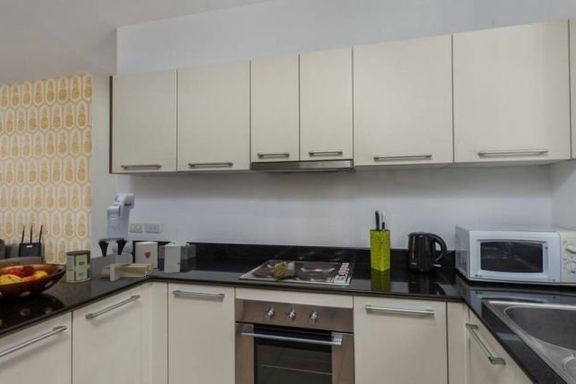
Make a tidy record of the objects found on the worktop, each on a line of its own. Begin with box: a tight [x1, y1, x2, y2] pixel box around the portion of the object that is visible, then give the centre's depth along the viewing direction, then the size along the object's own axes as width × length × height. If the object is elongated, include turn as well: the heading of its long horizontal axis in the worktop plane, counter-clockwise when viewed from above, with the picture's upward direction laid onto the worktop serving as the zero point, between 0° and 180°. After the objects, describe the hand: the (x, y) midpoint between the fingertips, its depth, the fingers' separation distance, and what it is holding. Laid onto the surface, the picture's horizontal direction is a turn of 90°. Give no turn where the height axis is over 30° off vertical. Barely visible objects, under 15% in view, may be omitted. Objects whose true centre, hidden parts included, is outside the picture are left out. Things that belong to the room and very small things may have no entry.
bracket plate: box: [109, 262, 120, 282], centre depth 163 cm, size 4×2×8 cm, turn 178°
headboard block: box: [101, 262, 154, 278], centre depth 173 cm, size 10×22×5 cm, turn 88°
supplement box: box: [135, 241, 158, 269], centre depth 190 cm, size 9×9×15 cm
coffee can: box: [65, 249, 92, 284], centre depth 162 cm, size 10×10×14 cm
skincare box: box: [163, 243, 182, 274], centre depth 180 cm, size 8×6×15 cm
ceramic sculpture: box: [264, 260, 296, 280], centre depth 165 cm, size 11×9×15 cm
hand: (111, 255), depth 163 cm, fingers open, 7 cm apart
